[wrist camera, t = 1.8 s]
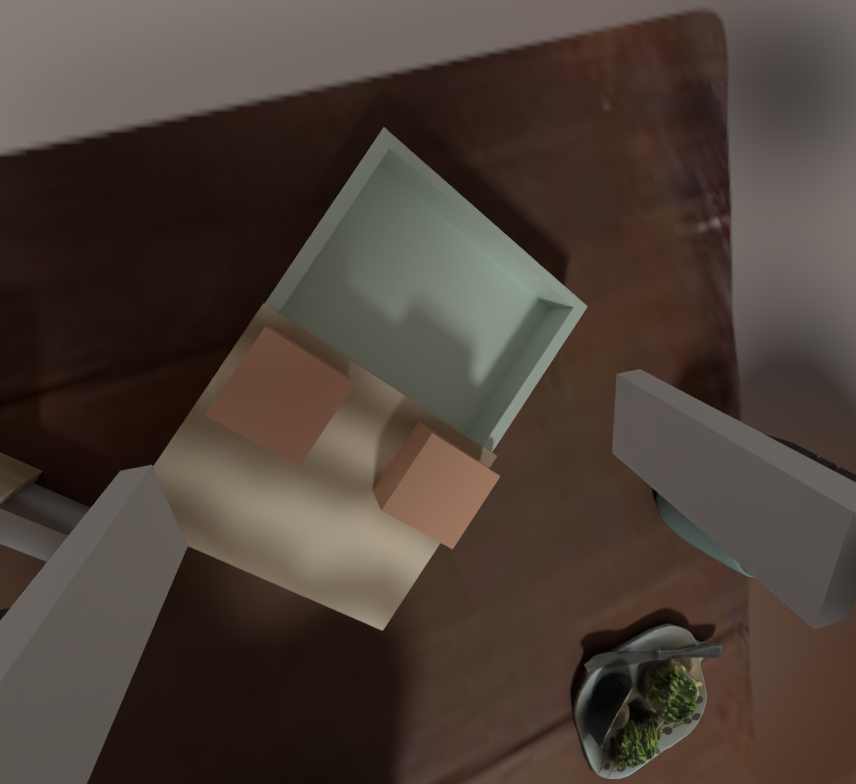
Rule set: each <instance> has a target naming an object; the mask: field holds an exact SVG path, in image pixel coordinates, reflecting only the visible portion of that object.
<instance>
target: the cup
mask: <svg viewBox="0 0 856 784" xmlns="http://www.w3.org/2000/svg"><path fill="white" fill-rule="evenodd" d="M656 501H657V508H658V512H659V514H660V516H661V518H662V520H663V521H664V522H665V524H666V525H667V526H668V527H669V528H670V529H671V530H672V531H673V532H674V533H675V534H677V535H678V536H679V537H681V538H682V539H684V540H685V541H686V542H688V543H689V544H691V545H693V546H694V547H696V548H697V549H699V550H701V551H702V552H704V553H706V554H707V555H709V556H711V557H712V558H714V559H716V560H718V561H719V562H721V563H723V564H725V565H726V566H728V567H730V568H731V569H733V570H735V571H737V572H739V573H741V574H743V575H745V576H748V577H753V578H755V577H754V576H753V575H751V574H750V573H749V572H748V571H747V570H746V569H745V568H743V567H742V566H741V565H740V564H739V563H738V562H737V561H735V560H734V559H733V558H732V557H731V556H730V555H729V554H727V553H726V552H725V551H724V550H723V549H722V548H721V547H719V546H718V545H717V544H716V543H715V542H714V541H713V540H711V539H710V538H709V537H708V536H707V535H706V534H705V533H703V532H702V531H701V530H700V529H699V528H698V527H697V526H695V525H694V524H693V523H692V522H691V521H690V520H689V519H687V518H686V517H685V516H684V515H683V514H682V513H681V512H679V511H678V510H677V509H676V508H675V507H674V506H673V505H671V504H670V503H669V502H668V501H667V500H666V499H665V498H663V497H662V496H661V495H660V494H659V493H658V492H657V498H656Z"/></svg>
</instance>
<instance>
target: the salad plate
mask: <svg viewBox="0 0 856 784" xmlns="http://www.w3.org/2000/svg"><path fill="white" fill-rule="evenodd" d="M722 652H723V646H722V644H720V643H719V642H712V641H710V642H700V641H697V640H696V639H695V638H694V637H693V636H692V634H691V633H690V632H689V630H687V629H684V628H682V627H679V626H676V625H673V624H670V623H669V624H663V625H659V626H656V627H653V628H651V629H648V630H646V631H644V632H642V633H641V634H639V635H637V636H635V637H633V638H632V639H630V640H628V641H626V642H624V643H622V644H620V645H618V646H616V647H614V648H612V649H610V650H608V651H606V652H603V653H600V654H597V655H594V656H593V657H592V658H590V659H589V660H588V661H587V662H586V663H585V664H584V665H585V667H586V668H585V670H584V671H583V673H582V674H581V676H580V677H579V679H578V681H577V683H576V686H575V688H574V691H573V696H572V711H573V718H574V725H575V727H576V730H577V733H578V737H579V740H580V744H581V748H582V751H583V755H584V757H585V759H586V761H587V763H588V765H589V768H590V769H591V770H592V771H593V772H595V773H596V774H597V775H599V776H600V777H603V778H606V779H620V778H624V777H627V776H629V775H630V774H632V773H634V772H635V771H637V770H638V769H639V768H641V767H642V766H643V765H645V764H646V763H647V762H649V761H650V760H651V759H653V758H654V757H655V756H657V755H659V754H660V753H661V752H662V751H664V750H665V749H667V748H669V747H672V746H673V745H674V744H675V743H677V742H678V741H680V740H681V739H682V738H684V737H686V736H687V735H688V734H689V733H690V732H691V731H692V730H693V729H694V728H695V726H696V725H697V723H698V722H699V720H700V718H701V716H702V713H703V711H704V708H705V705H706V700H707V693H706V687H705V683H704V678H703V674H702V670H701V664H700V663H701V660H702V659H703V658H717V657H719V656H720V655H721V654H722ZM628 705H631V706H630V707H628ZM657 715H658V716H659V717H661V718H663V719H664V720H663V721H661V723H660V724H659V725H658V720H659V718H658V716H657Z"/></svg>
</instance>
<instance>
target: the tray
mask: <svg viewBox="0 0 856 784" xmlns="http://www.w3.org/2000/svg"><path fill="white" fill-rule="evenodd" d="M265 304H266V305H268V306H269V307H271V308H272V309H274V310H275V311H277V312H279V313H281V314H283V315H284V316H286V317H287V318H289V319H290V320H292V321H293V322H295V323H296V324H298V325H300V326H301V327H303V328H304V329H306V330H307V331H309V332H310V333H312V334H313V335H315V336H316V337H318V338H319V339H321V340H322V341H324V342H325V343H327V344H328V345H330V346H332V347H333V348H335V349H336V350H338V351H339V352H341V353H342V354H344V355H345V356H347V357H348V358H350V359H351V360H353V361H354V362H356V363H357V364H359V365H360V366H362V367H363V368H365V369H367V370H368V371H370V372H371V373H373V374H374V375H376V376H377V377H379V378H380V379H382V380H383V381H385V382H386V383H388V384H389V385H391V386H392V387H394V388H395V389H397V390H399V391H400V392H402V393H403V394H405V395H406V396H408V397H409V398H411V399H412V400H414V401H415V402H417V403H418V404H420V405H421V406H423V407H424V408H426V409H427V410H429V411H431V412H432V413H434V414H435V415H437V416H438V417H440V418H441V419H443V420H444V421H446V422H447V423H449V424H450V425H452V426H453V427H455V428H456V429H458V430H459V431H461V432H463V433H464V434H466V435H467V436H469V437H470V438H471V439H473V440H474V441H476V442H477V443H479V444H480V445H481V446H483V447H484V448H486V449H487V450H489V451H491V452H492V451H493V450H494V448H495V447H496V445H497V444H498V442H499V441H500V439H501V438H502V436H503V435H504V433H505V432H506V430H507V429H508V427H509V426H510V424H511V423H512V421H513V419H514V418H515V416H516V415H517V413H518V412H519V410H520V409H521V407H522V406H523V404H524V403H525V401H526V400H527V398H528V397H529V395H530V394H531V392H532V391H533V389H534V387H535V386H536V384H537V383H538V381H539V380H540V378H541V377H542V375H543V374H544V372H545V371H546V369H547V368H548V366H549V365H550V363H551V362H552V360H553V358H554V357H555V355H556V354H557V352H558V351H559V349H560V348H561V346H562V345H563V343H564V342H565V340H566V339H567V337H568V336H569V334H570V333H571V331H572V330H573V328H574V326H575V325H576V323H577V322H578V320H579V319H580V317H581V316H582V314H583V313H584V311H585V310H586V308H587V307H588V306H586V305H585V304H584V303H583V302H582V301H581V300H580V299H578V298H577V297H576V296H575V295H574V294H573V293H572V292H571V291H569V290H568V289H567V288H566V287H565V286H564V285H563V284H561V283H560V282H559V281H558V280H557V279H556V278H555V277H553V276H552V275H551V274H550V273H549V272H548V271H547V270H546V269H544V268H543V267H542V266H541V265H540V264H539V263H538V262H536V261H535V260H534V259H533V258H532V257H531V256H530V255H529V254H527V253H526V252H525V251H524V250H523V249H522V248H521V247H519V246H518V245H517V244H516V243H515V242H514V241H513V240H512V239H510V238H509V237H508V236H507V235H506V234H505V233H504V232H502V231H501V230H500V229H499V228H498V227H497V226H496V225H494V224H493V223H492V222H491V221H490V220H489V219H488V218H487V217H485V216H484V215H483V214H482V213H481V212H480V211H479V210H477V209H476V208H475V207H474V206H473V205H472V204H471V203H470V202H468V201H467V200H466V199H465V198H464V197H463V196H462V195H460V194H459V193H458V192H457V191H456V190H455V189H454V188H452V187H451V186H450V185H449V184H448V183H447V182H446V181H445V180H443V179H442V178H441V177H440V176H439V175H438V174H437V173H435V172H434V171H433V170H432V169H431V168H430V167H429V166H428V165H426V164H425V163H424V162H423V161H422V160H421V159H420V158H418V157H417V156H416V155H415V154H414V153H413V152H412V151H410V150H409V149H408V148H407V147H406V146H405V145H404V144H403V143H401V142H400V141H399V140H398V139H397V138H396V137H395V136H393V135H392V134H391V133H390V132H389V131H388V130H387V129H386V128H383V129H382V131H381V132H380V134H379V135H378V137H377V138H376V139H375V141H374V142H373V144H372V145H371V147H370V148H369V150H368V151H367V153H366V154H365V156H364V157H363V159H362V160H361V162H360V163H359V165H358V166H357V168H356V169H355V171H354V172H353V174H352V175H351V176H350V178H349V179H348V181H347V182H346V184H345V185H344V187H343V188H342V190H341V191H340V193H339V194H338V196H337V197H336V199H335V200H334V202H333V203H332V205H331V206H330V208H329V209H328V211H327V212H326V214H325V215H324V216H323V218H322V219H321V221H320V222H319V224H318V225H317V227H316V228H315V230H314V231H313V233H312V234H311V236H310V237H309V239H308V240H307V242H306V243H305V245H304V246H303V248H302V249H301V251H300V252H299V253H298V255H297V256H296V258H295V259H294V261H293V262H292V264H291V265H290V267H289V268H288V270H287V271H286V273H285V274H284V276H283V277H282V279H281V280H280V282H279V283H278V285H277V286H276V288H275V289H274V291H273V292H272V293H271V295H270V296H269V298H268V299H267V301H266V302H265Z"/></svg>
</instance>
